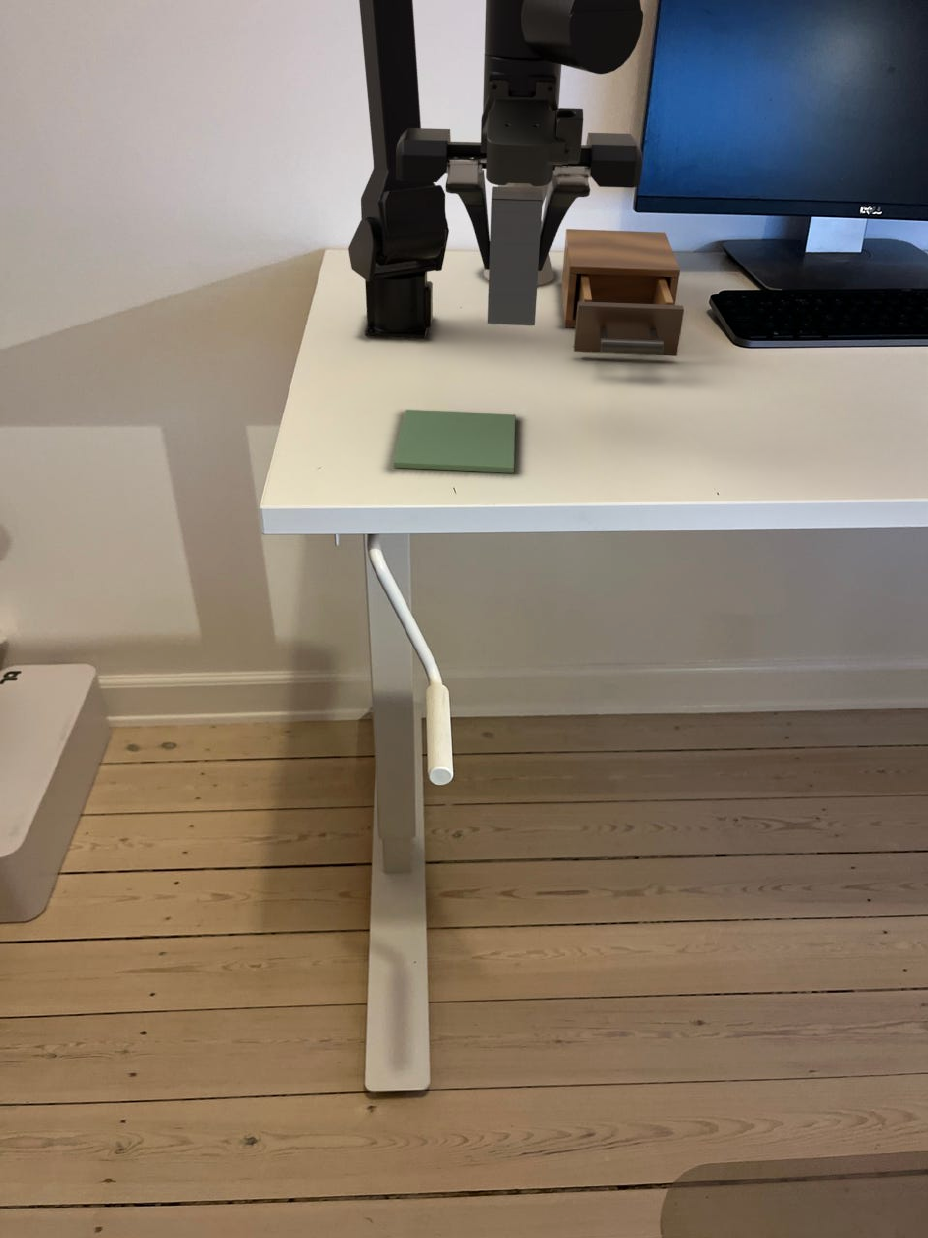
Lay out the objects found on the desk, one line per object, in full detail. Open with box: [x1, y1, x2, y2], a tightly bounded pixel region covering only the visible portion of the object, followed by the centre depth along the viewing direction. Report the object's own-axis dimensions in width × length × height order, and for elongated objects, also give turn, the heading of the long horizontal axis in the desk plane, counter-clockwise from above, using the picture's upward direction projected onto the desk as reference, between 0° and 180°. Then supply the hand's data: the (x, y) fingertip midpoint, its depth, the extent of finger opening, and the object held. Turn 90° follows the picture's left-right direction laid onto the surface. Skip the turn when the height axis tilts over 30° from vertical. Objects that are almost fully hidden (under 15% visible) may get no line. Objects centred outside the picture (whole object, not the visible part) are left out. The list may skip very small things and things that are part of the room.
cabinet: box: [561, 228, 681, 328], centre depth 109 cm, size 14×12×7 cm
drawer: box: [573, 274, 685, 357], centre depth 99 cm, size 17×10×5 cm, turn 177°
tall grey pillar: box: [487, 186, 544, 326], centre depth 79 cm, size 4×4×10 cm
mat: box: [393, 409, 516, 474], centre depth 83 cm, size 10×10×1 cm
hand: (513, 268), depth 80 cm, fingers closed on tall grey pillar, 4 cm apart
